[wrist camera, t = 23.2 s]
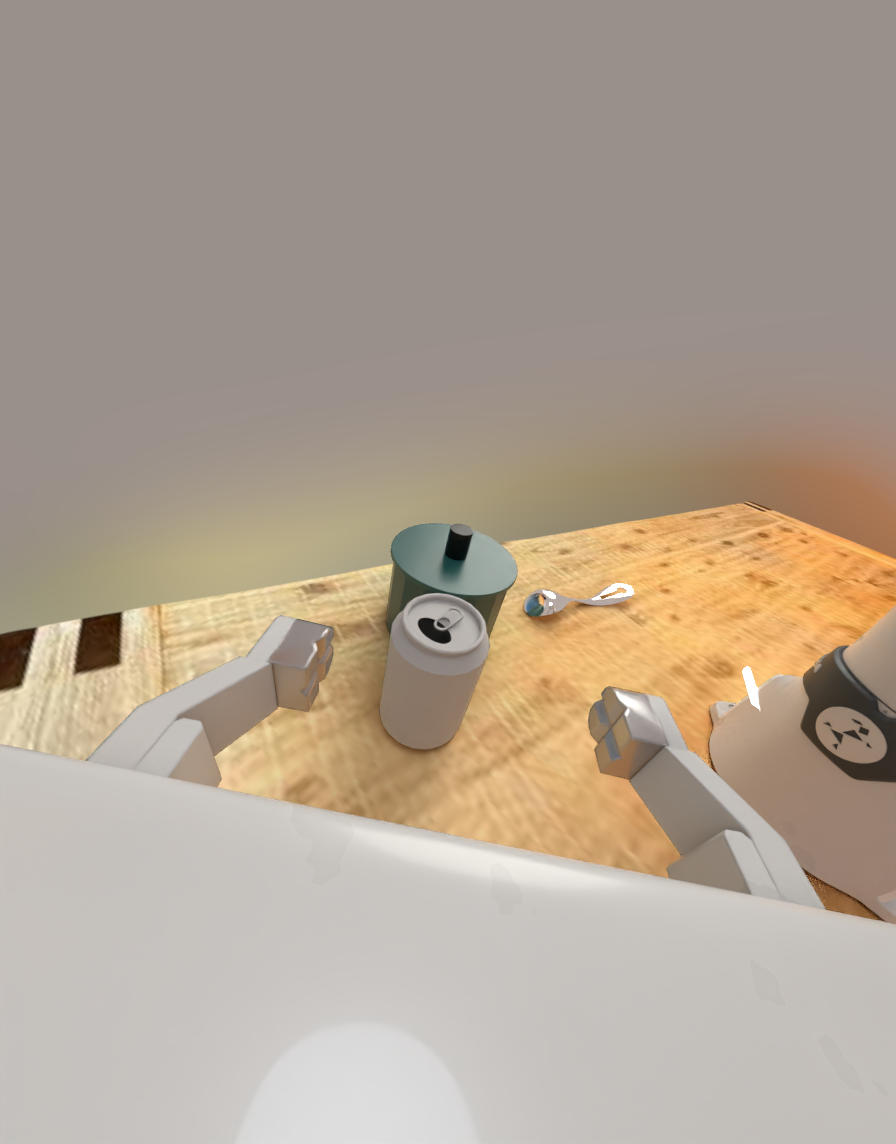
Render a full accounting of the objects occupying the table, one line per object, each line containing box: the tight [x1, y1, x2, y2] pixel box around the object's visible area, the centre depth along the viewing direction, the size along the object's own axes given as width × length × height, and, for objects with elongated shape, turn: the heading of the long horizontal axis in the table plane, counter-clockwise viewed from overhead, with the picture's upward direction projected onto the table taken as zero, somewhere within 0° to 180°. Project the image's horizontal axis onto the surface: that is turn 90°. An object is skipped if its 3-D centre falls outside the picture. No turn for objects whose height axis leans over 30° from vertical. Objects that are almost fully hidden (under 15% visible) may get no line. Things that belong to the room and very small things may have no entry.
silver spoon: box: [524, 583, 634, 617], centre depth 51 cm, size 20×4×5 cm
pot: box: [386, 562, 507, 639], centre depth 40 cm, size 12×12×10 cm
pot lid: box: [391, 523, 517, 599], centre depth 36 cm, size 13×13×4 cm
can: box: [379, 593, 490, 749], centre depth 29 cm, size 8×8×12 cm
